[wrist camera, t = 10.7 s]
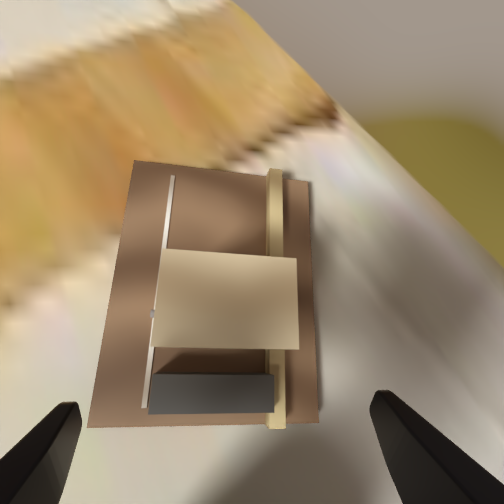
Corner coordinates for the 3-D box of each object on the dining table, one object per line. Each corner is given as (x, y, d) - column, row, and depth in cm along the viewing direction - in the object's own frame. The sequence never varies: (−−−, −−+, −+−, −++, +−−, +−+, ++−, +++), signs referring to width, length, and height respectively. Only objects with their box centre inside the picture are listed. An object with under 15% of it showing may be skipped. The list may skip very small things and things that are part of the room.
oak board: (311, 418, 20) (332, 431, 17) (93, 422, 18) (73, 437, 15) (302, 189, 26) (317, 168, 23) (137, 169, 23) (128, 142, 20)
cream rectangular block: (259, 349, 20) (299, 349, 12) (148, 347, 18) (116, 345, 11) (260, 290, 21) (296, 258, 13) (156, 284, 20) (132, 246, 12)
